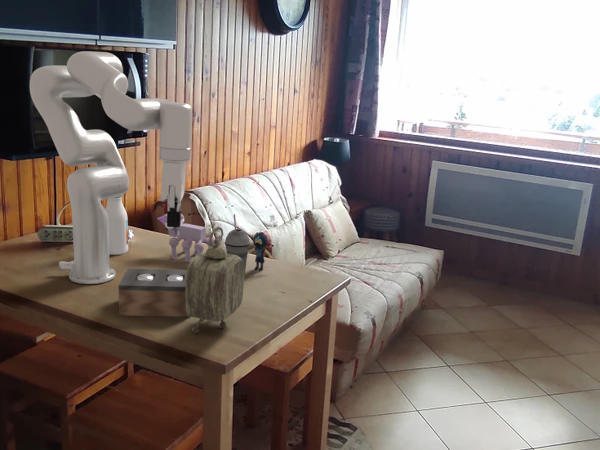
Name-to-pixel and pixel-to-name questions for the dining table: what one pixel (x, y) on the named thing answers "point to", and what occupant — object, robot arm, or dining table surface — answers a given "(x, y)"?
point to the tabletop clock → (214, 284)
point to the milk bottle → (117, 226)
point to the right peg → (175, 278)
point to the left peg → (145, 277)
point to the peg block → (152, 294)
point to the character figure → (260, 250)
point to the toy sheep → (186, 237)
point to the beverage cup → (237, 243)
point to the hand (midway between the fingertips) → (173, 226)
